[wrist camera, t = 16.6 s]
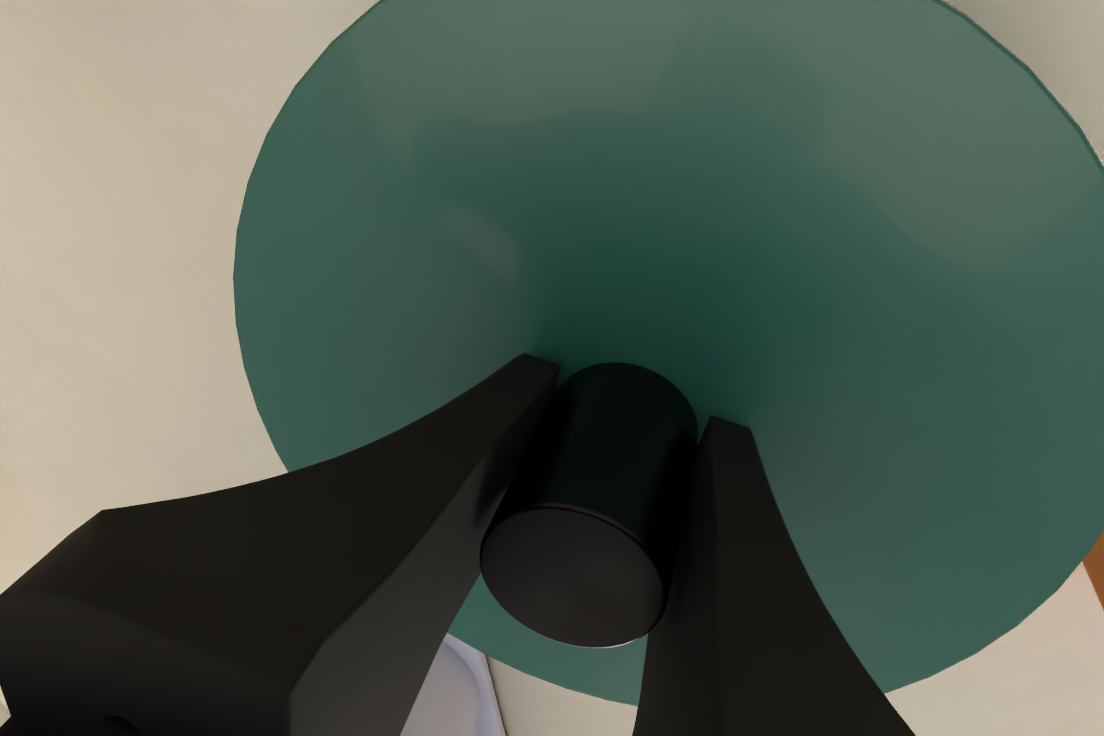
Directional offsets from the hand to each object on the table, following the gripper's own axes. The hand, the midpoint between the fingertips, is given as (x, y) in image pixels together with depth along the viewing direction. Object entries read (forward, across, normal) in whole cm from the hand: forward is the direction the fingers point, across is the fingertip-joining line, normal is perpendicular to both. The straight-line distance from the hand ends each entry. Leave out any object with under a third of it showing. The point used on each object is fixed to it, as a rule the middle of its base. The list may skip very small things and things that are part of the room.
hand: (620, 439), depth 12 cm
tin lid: (+1, 0, 0) cm, 1 cm away
